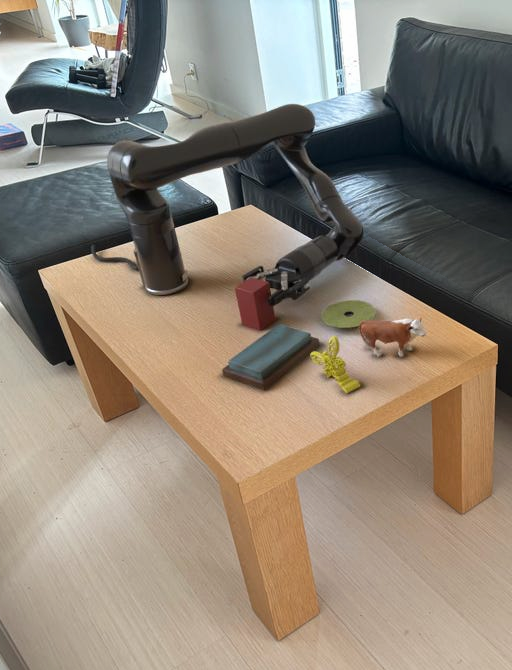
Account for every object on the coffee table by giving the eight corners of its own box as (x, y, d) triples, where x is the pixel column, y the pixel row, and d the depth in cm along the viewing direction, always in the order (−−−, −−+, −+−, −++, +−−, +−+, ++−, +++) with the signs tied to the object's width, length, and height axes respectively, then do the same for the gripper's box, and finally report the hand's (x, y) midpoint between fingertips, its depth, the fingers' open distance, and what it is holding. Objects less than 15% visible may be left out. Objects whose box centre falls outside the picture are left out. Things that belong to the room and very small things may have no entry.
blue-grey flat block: (223, 376, 139) (220, 362, 137) (280, 333, 151) (278, 320, 150) (264, 390, 135) (261, 376, 133) (319, 345, 147) (317, 331, 145)
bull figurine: (426, 362, 141) (424, 326, 136) (358, 356, 143) (355, 320, 139) (430, 349, 145) (429, 314, 140) (365, 343, 147) (361, 308, 142)
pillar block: (242, 325, 155) (234, 287, 150) (257, 314, 158) (250, 277, 153) (260, 330, 152) (253, 292, 147) (275, 319, 156) (269, 282, 151)
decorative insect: (330, 402, 140) (306, 355, 140) (344, 395, 142) (320, 348, 142) (356, 387, 129) (330, 337, 129) (371, 380, 131) (345, 330, 131)
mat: (347, 341, 148) (346, 333, 147) (311, 322, 154) (310, 314, 153) (387, 319, 155) (386, 311, 154) (351, 302, 161) (350, 294, 160)
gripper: (329, 287, 162) (283, 321, 151) (279, 274, 168) (230, 305, 157) (325, 256, 158) (277, 289, 147) (274, 244, 164) (224, 274, 153)
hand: (253, 297), depth 152 cm, fingers open, 8 cm apart
